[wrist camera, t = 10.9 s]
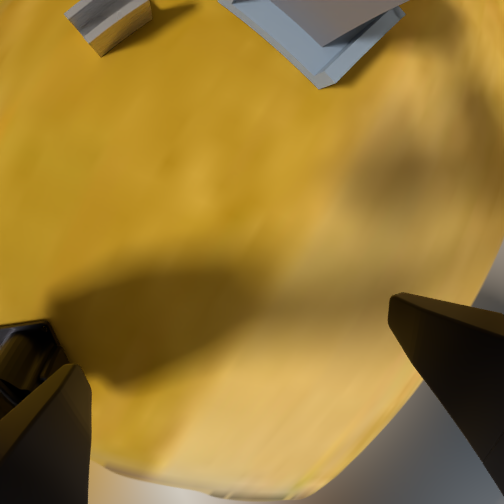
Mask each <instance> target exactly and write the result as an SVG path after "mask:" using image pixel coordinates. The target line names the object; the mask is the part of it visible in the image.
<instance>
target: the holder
mask: <svg viewBox="0 0 504 504" xmlns="http://www.w3.org/2000/svg"><path fill="white" fill-rule="evenodd" d="M218 2H219V3H220V4H221V5H223V6H224V7H225V8H227V9H228V10H229V11H231V12H232V13H233V14H235V15H236V16H237V17H239V18H240V19H241V20H242V21H244V22H245V23H246V24H247V25H249V26H250V27H251V28H252V29H253V30H255V31H256V32H257V33H258V34H259V35H261V36H262V37H263V38H264V39H265V40H266V41H268V42H269V43H270V44H271V45H272V46H273V47H275V48H276V49H277V50H278V51H279V52H280V53H281V54H282V55H283V56H285V57H286V58H287V59H288V60H289V61H290V62H291V63H292V64H293V65H294V66H295V67H296V68H297V69H298V70H300V71H301V72H302V73H303V74H304V75H305V76H306V77H307V78H308V79H309V80H310V81H311V82H312V83H313V84H314V85H315V86H316V87H317V88H318V89H321V88H324V87H327V86H330V85H332V84H335V83H337V81H338V80H339V79H340V78H341V77H342V76H343V75H344V74H345V73H346V72H347V71H348V70H349V69H350V68H351V67H352V66H353V65H354V64H355V63H356V62H357V61H358V60H359V59H360V58H361V57H362V56H363V55H364V54H365V53H366V52H367V51H368V50H369V49H370V48H371V47H372V46H373V45H374V44H375V43H376V42H377V41H378V40H379V39H380V38H382V37H383V36H384V35H385V34H386V33H387V32H388V31H389V30H390V29H391V28H392V27H393V26H394V25H395V24H396V23H397V22H398V21H399V20H400V19H401V18H403V17H404V16H405V15H406V14H405V13H404V12H403V10H402V9H401V8H400V7H399V6H396V7H394V8H392V9H390V10H388V11H386V12H384V13H382V14H380V15H378V16H376V17H374V18H372V19H371V20H369V21H367V22H365V23H363V24H361V25H359V26H358V27H356V28H354V29H352V30H350V31H349V32H347V33H345V34H343V35H342V36H340V37H338V38H336V39H335V40H333V41H331V42H330V43H328V44H326V45H325V46H323V47H321V46H320V45H319V44H318V43H317V42H316V41H315V40H314V39H313V38H312V37H311V36H310V35H309V34H308V33H307V32H305V31H304V30H303V29H302V28H301V27H300V26H299V25H298V24H297V23H296V22H294V21H293V20H292V19H291V18H290V17H289V16H288V15H286V14H285V13H284V12H283V11H282V10H281V9H279V8H278V7H277V6H276V5H275V4H273V3H272V2H271V1H270V0H218Z"/></svg>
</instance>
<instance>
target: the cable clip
mask: <svg viewBox="0 0 504 504" xmlns="http://www.w3.org/2000/svg"><path fill="white" fill-rule="evenodd" d="M64 15H65V16H66V17H67V18H68V20H69V21H70V22H71V23H72V24H73V25H74V26H75V27H76V29H77V30H78V31H79V32H80V33H81V34H82V36H83V37H84V39H85V40H86V41H87V42H88V43H89V45H90V46H91V47H92V48H93V49H94V50H95V51H96V52H97V53H98V55H99V56H100V57H102V56H103V55H104V54H106V53H107V52H108V51H109V50H111V49H112V48H113V47H114V46H116V45H117V44H118V43H120V42H121V41H122V40H124V39H125V38H126V37H128V36H129V35H130V34H132V33H133V32H135V31H136V30H137V29H139V28H140V27H142V26H143V25H145V24H146V23H147V22H149V21H150V20H152V19H153V17H152V12H151V7H150V1H149V0H81V1H79V2H78V3H77V4H75V5H74V6H73V7H72V8H70V9H69V10H68V11H67V12H65V13H64Z"/></svg>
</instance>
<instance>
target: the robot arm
mask: <svg viewBox="0 0 504 504" xmlns="http://www.w3.org/2000/svg"><path fill="white" fill-rule="evenodd" d="M388 324H389V327H390V329H391V330H392V332H393V334H394V335H395V337H396V338H397V340H398V342H399V343H400V345H401V347H402V348H403V350H404V352H405V353H406V355H407V357H408V358H409V360H410V361H411V363H412V364H413V366H414V367H415V369H416V370H417V371H418V373H419V374H420V375H421V377H422V378H423V379H424V381H425V382H426V383H427V385H428V386H429V387H430V389H431V390H432V391H433V393H434V394H435V395H436V397H437V398H438V400H439V401H440V402H441V404H442V405H443V406H444V408H445V409H446V410H447V412H448V413H449V415H450V416H451V418H452V419H453V420H454V422H455V423H456V425H457V426H458V427H459V429H460V430H461V432H462V433H463V435H464V436H465V438H466V439H467V440H468V442H469V443H470V445H471V446H472V448H473V449H474V451H475V452H476V454H477V455H478V457H479V458H480V460H481V461H482V462H483V464H484V466H485V468H486V469H487V471H488V472H489V474H490V475H491V477H492V478H493V480H494V481H495V483H496V485H497V486H498V488H499V490H500V491H501V493H502V494H503V496H504V315H503V314H502V313H498V312H493V311H488V310H484V309H479V308H474V307H469V306H465V305H460V304H455V303H451V302H446V301H441V300H437V299H432V298H427V297H423V296H418V295H413V294H409V293H404V292H402V293H398V294H395V295H393V296H391V298H390V301H389V312H388ZM43 326H45V327H46V328H47V329H45V328H44V327H43ZM91 403H92V392H91V387H90V385H89V383H88V381H87V379H86V377H85V375H84V373H83V371H82V369H81V367H80V366H79V365H78V364H76V363H73V364H70V363H69V361H68V359H67V357H66V355H65V353H64V351H63V348H62V347H61V346H60V344H59V342H58V340H57V338H56V336H55V333H54V331H53V329H52V326H51V325H50V323H49V322H48V321H44V320H43V321H37V322H30V323H23V324H16V325H9V326H2V327H0V504H88V480H89V479H88V478H89V464H90V450H91Z"/></svg>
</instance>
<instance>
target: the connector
mask: <svg viewBox="0 0 504 504" xmlns="http://www.w3.org/2000/svg"><path fill="white" fill-rule="evenodd" d="M270 1H271V2H272V3H273V4H275V5H276V6H277V7H278V8H279V9H281V10H282V11H283V12H284V13H285V14H286V15H288V16H289V17H290V18H291V19H292V20H293V21H294V22H296V23H297V24H298V25H299V26H300V27H301V28H302V29H303V30H304V31H305V32H307V33H308V34H309V35H310V36H311V37H312V38H313V39H314V40H315V41H316V42H317V43H318V44H319V45H320V46H321V47H323V46H325V45H326V44H328V43H330V42H331V41H333V40H335V39H336V38H338V37H340V36H342V35H343V34H345V33H347V32H349V31H350V30H352V29H354V28H356V27H358V26H359V25H361V24H363V23H365V22H367V21H369V20H371V19H372V18H374V17H376V16H378V15H380V14H382V13H384V12H386V11H388V10H390V9H392V8H394V7H396V6H398V5H400V4H403V3H405V2H407V1H409V0H270Z"/></svg>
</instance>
